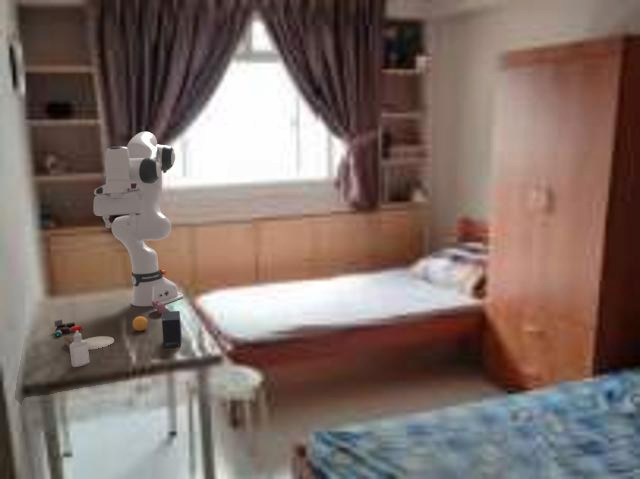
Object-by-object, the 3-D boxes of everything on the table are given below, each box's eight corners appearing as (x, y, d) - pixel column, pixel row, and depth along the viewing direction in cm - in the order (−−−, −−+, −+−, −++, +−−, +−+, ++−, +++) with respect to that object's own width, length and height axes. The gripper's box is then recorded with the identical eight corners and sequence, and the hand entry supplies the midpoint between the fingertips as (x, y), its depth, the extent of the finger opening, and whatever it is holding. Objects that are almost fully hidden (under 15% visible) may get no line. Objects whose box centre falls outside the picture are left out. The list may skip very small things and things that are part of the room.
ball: (144, 326, 246) (142, 313, 245) (151, 330, 242) (149, 316, 241) (130, 330, 243) (129, 316, 242) (137, 334, 239) (136, 319, 238)
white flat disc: (105, 334, 240) (104, 333, 240) (120, 342, 230) (120, 342, 230) (71, 343, 231) (71, 342, 231) (85, 352, 222) (85, 352, 222)
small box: (182, 346, 224) (179, 318, 222) (163, 348, 223) (160, 320, 221) (182, 336, 234) (180, 309, 232) (164, 338, 233) (162, 311, 231)
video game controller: (156, 313, 268) (147, 300, 265) (165, 307, 269) (157, 294, 266) (162, 320, 259) (153, 306, 256) (171, 313, 260) (162, 300, 258)
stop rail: (71, 342, 232) (70, 335, 231) (87, 352, 222) (86, 344, 221) (65, 344, 230) (64, 336, 230) (80, 354, 220) (79, 346, 219)
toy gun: (53, 339, 237) (51, 327, 236) (57, 329, 249) (56, 317, 248) (80, 336, 240) (78, 324, 239) (83, 326, 251) (82, 314, 250)
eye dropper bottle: (89, 365, 210) (85, 331, 208) (71, 368, 208) (67, 333, 206) (90, 360, 214) (86, 327, 212) (72, 363, 212) (68, 329, 210)
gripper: (147, 188, 232) (148, 225, 231) (101, 192, 239) (102, 228, 238) (137, 186, 226) (138, 225, 225) (90, 190, 233) (91, 227, 232)
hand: (119, 226), depth 232 cm, fingers open, 8 cm apart
